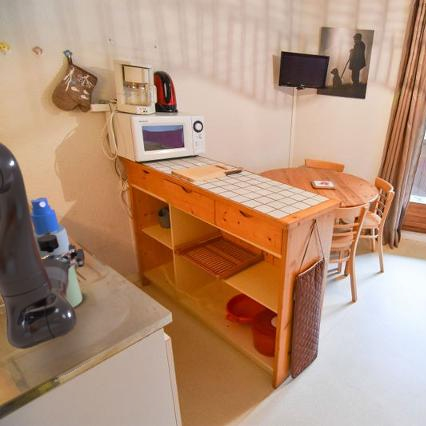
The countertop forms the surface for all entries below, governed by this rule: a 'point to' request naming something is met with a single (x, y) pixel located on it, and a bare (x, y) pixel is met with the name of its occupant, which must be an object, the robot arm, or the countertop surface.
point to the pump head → (48, 242)
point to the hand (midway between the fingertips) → (51, 250)
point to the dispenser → (72, 286)
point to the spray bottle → (48, 226)
